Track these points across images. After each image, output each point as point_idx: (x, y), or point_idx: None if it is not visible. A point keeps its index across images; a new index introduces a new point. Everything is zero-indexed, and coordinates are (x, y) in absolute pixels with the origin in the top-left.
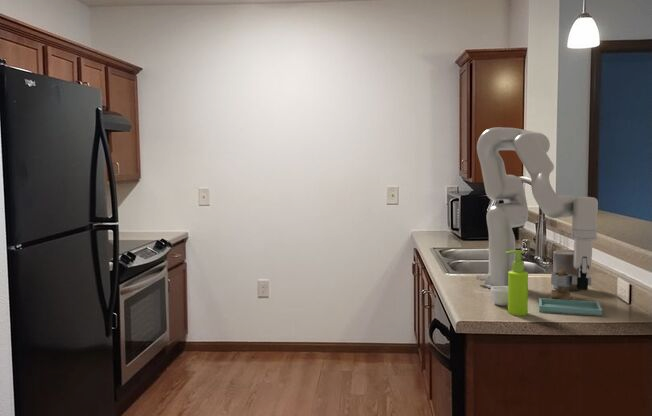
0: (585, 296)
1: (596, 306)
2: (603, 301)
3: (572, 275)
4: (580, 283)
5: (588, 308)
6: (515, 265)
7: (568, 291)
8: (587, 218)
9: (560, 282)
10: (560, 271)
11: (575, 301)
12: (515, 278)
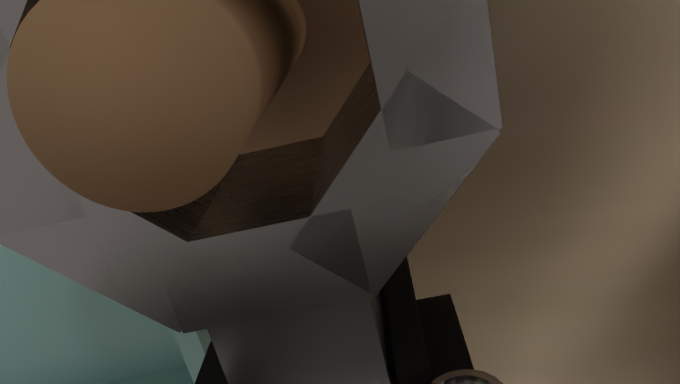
0: (662, 218)
1: (170, 376)
2: (500, 377)
3: (362, 295)
4: (199, 377)
5: (90, 320)
6: None
7: (327, 125)
8: None
9: None
10: (40, 78)
11: None
12: None
